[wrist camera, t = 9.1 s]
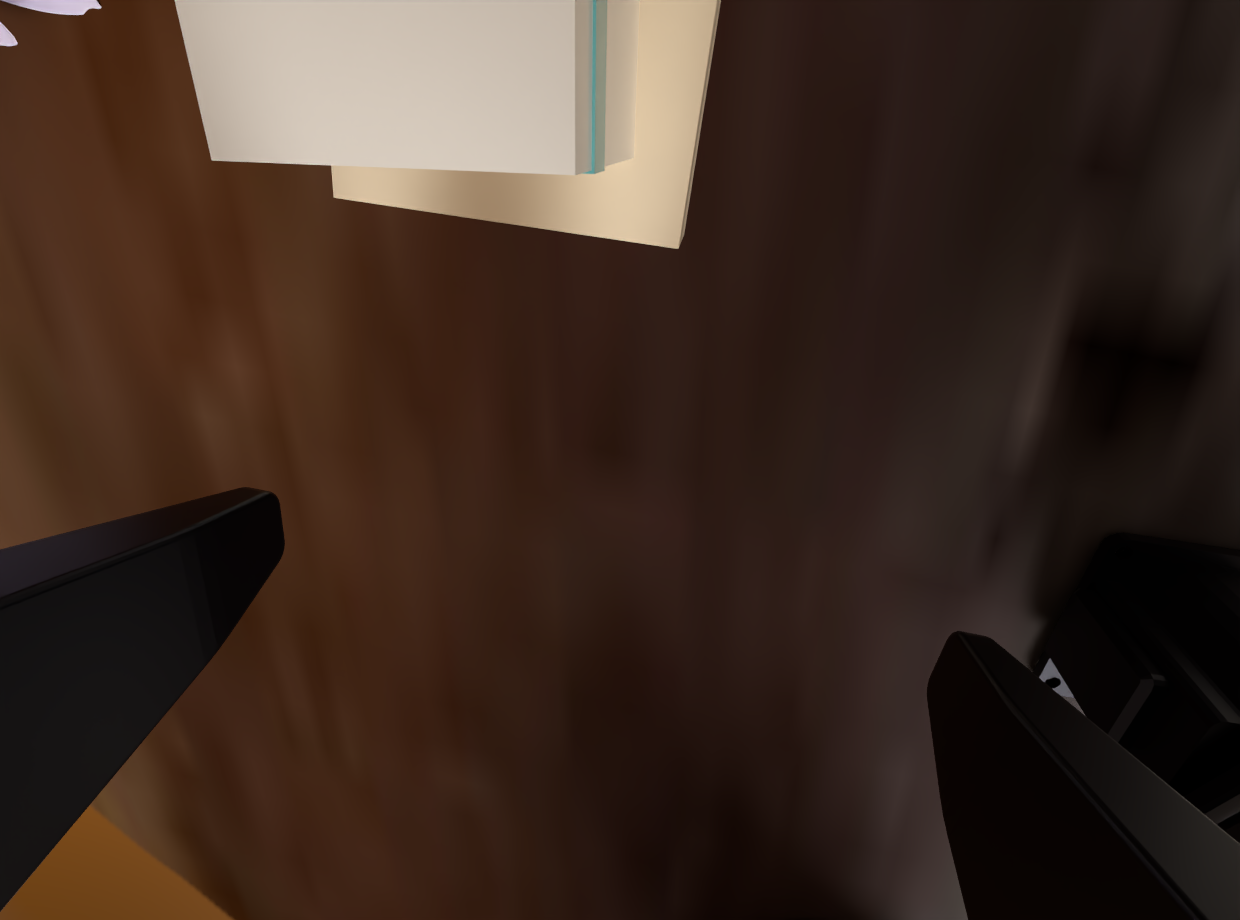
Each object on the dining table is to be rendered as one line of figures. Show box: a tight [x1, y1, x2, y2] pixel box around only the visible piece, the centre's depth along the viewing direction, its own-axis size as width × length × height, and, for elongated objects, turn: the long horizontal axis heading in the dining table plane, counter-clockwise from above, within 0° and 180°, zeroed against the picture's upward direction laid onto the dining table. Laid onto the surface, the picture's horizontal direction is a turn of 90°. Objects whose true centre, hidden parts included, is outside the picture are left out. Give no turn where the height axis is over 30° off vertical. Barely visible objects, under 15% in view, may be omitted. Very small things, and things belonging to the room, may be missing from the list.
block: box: [331, 0, 721, 249], centre depth 16 cm, size 9×9×3 cm
